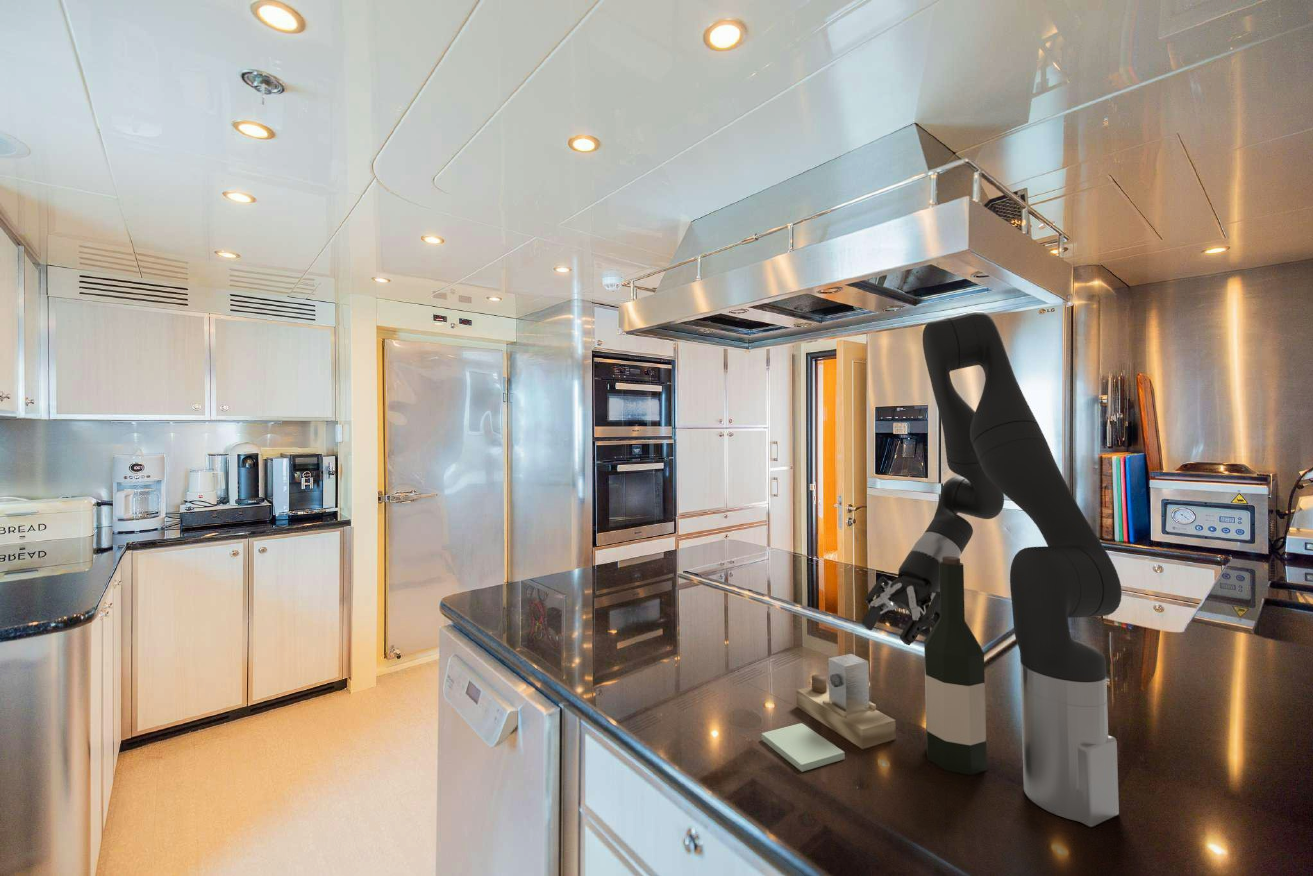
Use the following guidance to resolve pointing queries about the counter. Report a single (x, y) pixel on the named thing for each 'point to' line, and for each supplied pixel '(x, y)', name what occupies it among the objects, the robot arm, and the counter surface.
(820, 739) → the pad
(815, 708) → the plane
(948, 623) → the wine bottle
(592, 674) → the counter surface
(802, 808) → the counter surface
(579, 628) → the counter surface
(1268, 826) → the counter surface
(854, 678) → the grey upright block
